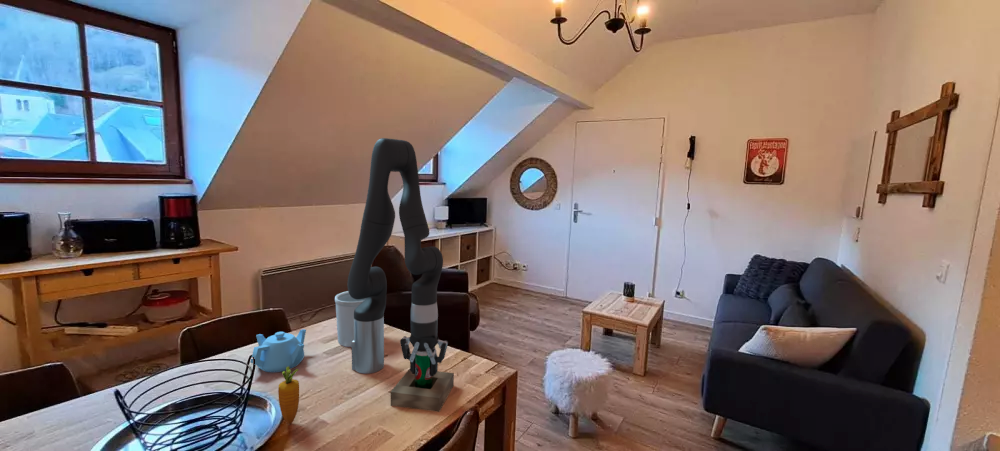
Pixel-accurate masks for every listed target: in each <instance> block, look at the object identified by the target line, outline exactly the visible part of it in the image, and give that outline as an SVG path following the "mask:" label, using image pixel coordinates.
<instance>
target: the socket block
mask: <svg viewBox="0 0 1000 451" xmlns="http://www.w3.org/2000/svg"><path fill="white" fill-rule="evenodd" d="M454 374H455V373H454V372H450V371H449V372H448V371H447V372H446V371H437V373H436V374H435V375H434V376H433V383H432V388H431V389H424V388H416V387H415V374H412V372H411V371H410V368H409V369H408V370H407V371H406V372H405V374H404V375H403V376H402V378H401V379H400V380H399V381H398V382H397V383H396V385H395V386H394V387H393V389H392V390H391V391H390V406H393V407H399V408H405V409H407V408H409V409H412V410H413V409H414V410H423V411H429V412H438V413H440V411H441V410H442V407H443V406H444V404H445V402H446V401H447V398H448V396H449V395H450V393H451V391H452V389H453V387H454V385H455V383H454V381H455V380H454V379H455V376H454Z"/></svg>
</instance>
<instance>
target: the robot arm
mask: <svg viewBox="0 0 1000 451" xmlns="http://www.w3.org/2000/svg"><path fill="white" fill-rule="evenodd" d="M370 158H371V159H370V169H369V170H370V171H369V179H368V180H369V182H368V188H367V195H366V200H365V205H364V206H365V207H364V210H363V214H362V218H361V224H360V230H359V231H360V232H359V236H358V242H357V245H356V250H355V254H354V257H353V260H352V263H351V266H350V270H349V273H348V277H347V291H348V292H349V294H350V296H351V297H352V298H354V299H364V298H365V300H364V301H363V302H362V303H361V304H360V305H359V306H357V307H356V308H355V310H354V340H353V341H352V347H351V370H353V371H355V372H357V373H359V374H364V375H365V374H374V373H377V372H379V371H381V370H383V369H384V367H385V321H384V319H385V318H384V317H385V316H384V315H385V314H384V313H385V310H386V306H387V289H388V285H387V284H388V283H387V277H386V272H385V271H384V270H383V268H381V267H379V266H373V264H374V261H375V259H376V257H377V256H378V255H379V253H380V252H381V251H382V250H383V248H384V247H385V245H387V243H388V242H389V241H390V239H391V236H392V234H393V229H394V224H395V220H396V211H395V210H396V209H395V207H394V205H393V202H392V199H391V197H390V193H389V189H388V187H389V180H390V175H391V172H395V173H399V175H400V176H401V180H402V186H403V187H402V195H401V198H400V202H399V207H398V216H399V221H400V224H401V228H402V232H403V235H404V236H403V237H404V263H405V267H406V268H407V271H408V272H410V273H411V274H412V275H415V276H418V275H421V274H422V275H421V276H420V277H419V278H418V279H417V280H416V281H414V282H412V284H411V305H410V336H406V335H405V336H403V337H402V338H400V340H399V343H400V348H401V351H402V356H403V359H404V360H408V361H409V369H410V371H411V372H412V374H415V354H416V352H417V350H424V351H427V354H428V356H429V357H430V359H431V362H432V364H431V376H434V375H435V374H436V373H437V371H438V367H439V366H438V363H439V364H441V363H442V362H443V360H445V357H446V352H447V349H448V348H447V347H448V346H449V345H448V344H449V341H448V340H446V339H445V340H441V339H440V337H439V336H438V325H439V324H438V319H439V318H438V317H439V310H438V300H437V299H438V284H439V281H440V278H441V274H442V270H443V267H444V256H443V254H442V251H441V250H440V249H439V248H438V247H437V246H432V245H431V246H424V247H422V240H425V239H427V238H428V237H429V236H430V229H429V224H428V221H427V217H426V214H425V211H424V207H423V201H422V197H421V196H422V195H421V186H420V179H419V178H420V177H419V170H418V169H419V168H418V163H417V162H418V161H417V160H418V159H417V156H416V152H415V148H414V146H413V144H412V143H410V142H409V141H407V140H403V139H398V138H397V139H396V138H387V137H382V138H379V139H377V140H376V142H375V143H374V145H373V149H372V153H371V157H370ZM409 344H411V345H412V347H413V349H412V352H411V349H410V345H409ZM437 345H438V348H439V354H438V353H437V349H436V346H437Z"/></svg>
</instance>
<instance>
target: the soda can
mask: <svg viewBox="0 0 1000 451" xmlns="http://www.w3.org/2000/svg"><path fill="white" fill-rule="evenodd" d="M431 364H432V362H431V359H430V357H429V356H428V354H427V351H424V350H417V352H416V354H415V387H416V388H424V389H431V388H432V383H433V376H431Z"/></svg>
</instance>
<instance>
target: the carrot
mask: <svg viewBox="0 0 1000 451" xmlns="http://www.w3.org/2000/svg"><path fill="white" fill-rule="evenodd" d="M291 372H292V373H291ZM297 372H299V369H298V368H296V369H294V370H293V371H292V369H290V367H289V366H288V367H286V371H282V372H281V373H282V376H283V378H284V381H282V382H280V383H279V384H278V389H277V394H278V405H279V408H280V412H281V415H282V418H283V419H284V421H285V422H286V424H288V425H292V424H293V423H294V421H295V419H296V416H297V414H298V409H299V405H300V404H299V403H300V383H299V382H300V381H299V380H297V379H294V375H295V374H296V373H297Z"/></svg>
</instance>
